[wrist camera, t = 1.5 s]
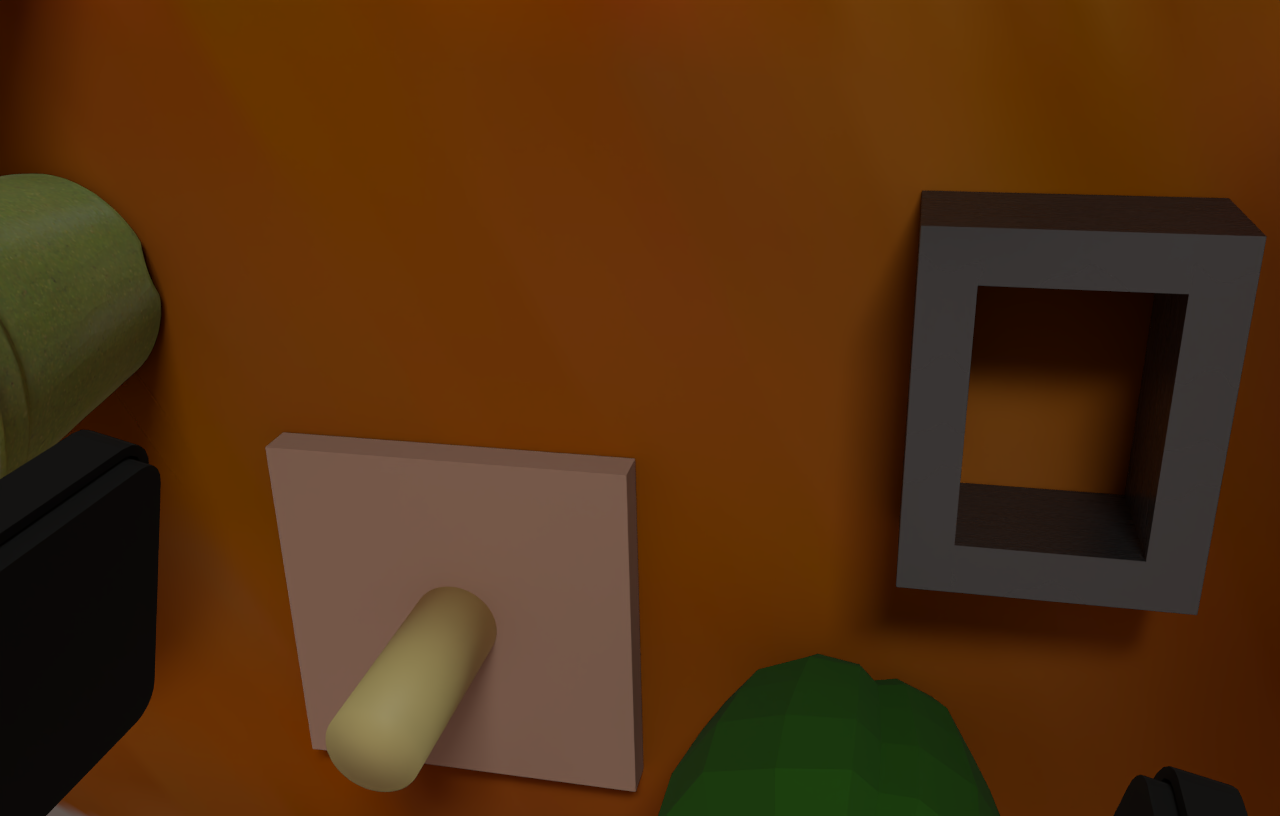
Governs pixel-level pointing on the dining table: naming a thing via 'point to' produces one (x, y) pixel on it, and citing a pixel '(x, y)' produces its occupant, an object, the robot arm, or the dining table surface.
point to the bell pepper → (828, 750)
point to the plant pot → (65, 310)
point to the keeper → (463, 608)
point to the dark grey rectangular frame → (1167, 409)
